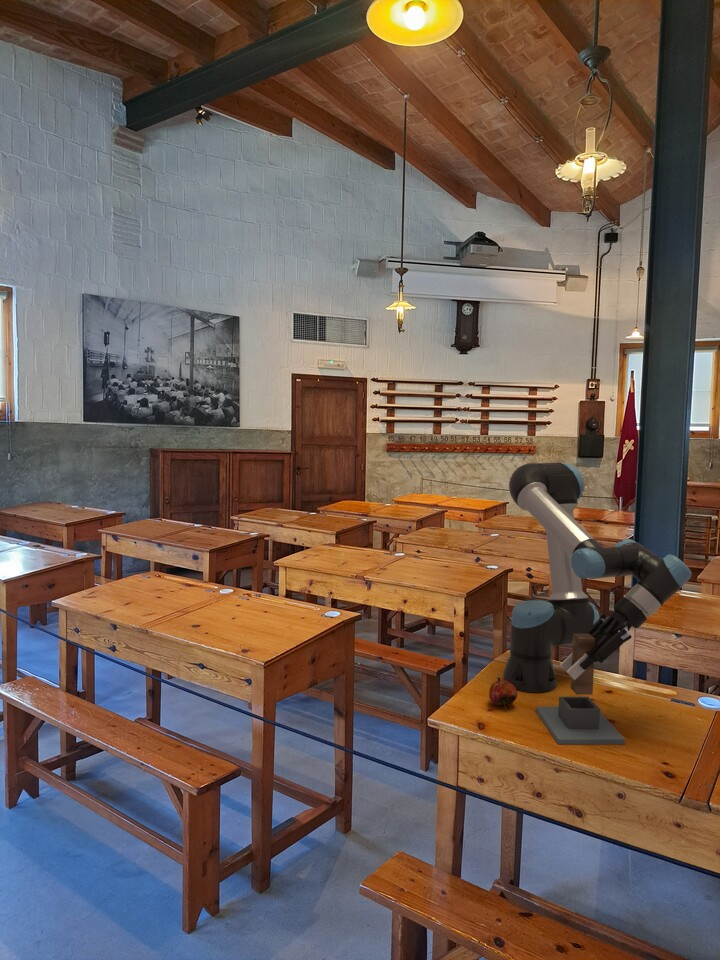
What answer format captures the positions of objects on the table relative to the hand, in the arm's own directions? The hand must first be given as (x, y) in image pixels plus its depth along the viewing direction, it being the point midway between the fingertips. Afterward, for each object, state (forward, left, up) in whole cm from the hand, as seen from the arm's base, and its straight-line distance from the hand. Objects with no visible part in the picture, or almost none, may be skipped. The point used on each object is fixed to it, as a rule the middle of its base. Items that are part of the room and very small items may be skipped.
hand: (567, 672), depth 165 cm
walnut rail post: (0, +4, -5) cm, 6 cm away
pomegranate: (-13, -12, -15) cm, 23 cm away
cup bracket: (-1, +4, -14) cm, 15 cm away
